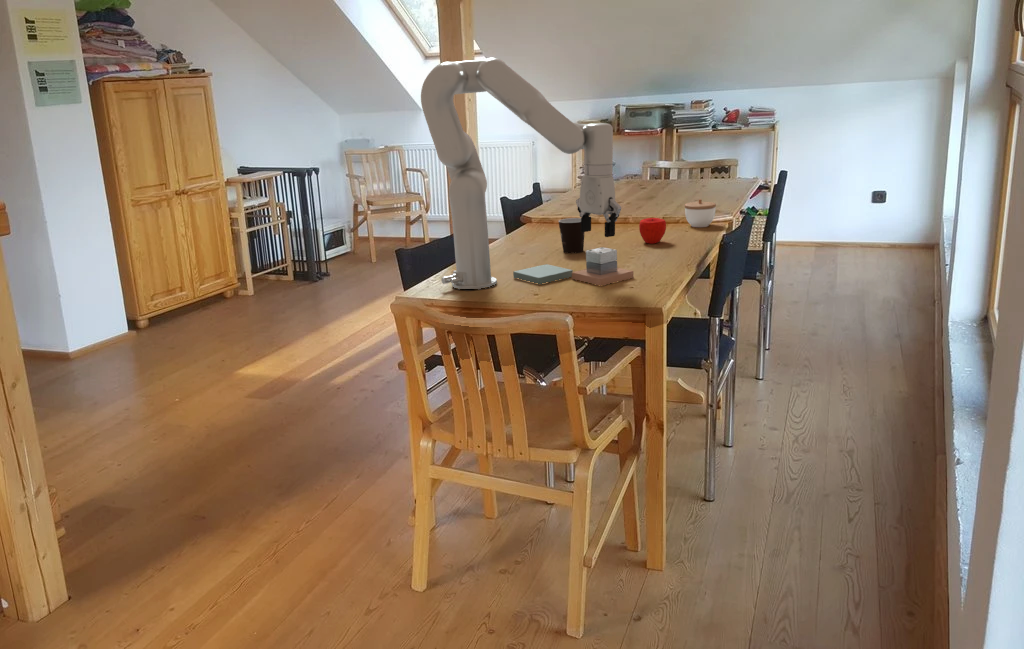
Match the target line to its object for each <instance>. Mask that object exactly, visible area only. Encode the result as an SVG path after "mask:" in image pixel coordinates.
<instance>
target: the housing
mask: <svg viewBox="0 0 1024 649" xmlns="http://www.w3.org/2000/svg"><path fill="white" fill-rule="evenodd" d="M617 250H618V249H615V248H614V249H613V248H608V247H603V246H601V247H598V248H592V249H587V250H585V262H586V263H585V264H586V268H585V269H587V272H589V273H593V274H598V275H604V274H608V273H613V272H617V268H618V251H617Z"/></svg>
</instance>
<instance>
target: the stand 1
mask: <svg viewBox="0 0 1024 649" xmlns="http://www.w3.org/2000/svg"><path fill="white" fill-rule="evenodd" d="M512 272H513V273H512V274H513V279H514V278H519V279H522V280H526V281H530V282H534V283H538V284H541V285H543V284H542V283H546V282H550V283H552V282H551V281H554V282H556V281H555V280H558V281H560V280H559V279H563V280H565V279H564V278H567V279H570V278H569V277H571V278H572V272H574V270H573V269H570V268H566V267H561V266H556V265H552V264H547V263H546V264H541V265H536V266H532V267H528V268H524V269H519V270H514V271H512ZM522 280H521V281H522ZM526 281H525V282H526ZM530 282H529V283H530ZM546 284H547V283H546Z"/></svg>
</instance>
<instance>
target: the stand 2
mask: <svg viewBox="0 0 1024 649" xmlns="http://www.w3.org/2000/svg"><path fill="white" fill-rule="evenodd" d="M630 278H632V279H634V270H631V269H627V268H620V267H617V272H613V273H608V274H604V275H598V274H593V273H589V272H587V269H586V268H585V269H581V270H575V271H573V272H572V277H571V280H572V279H575V280H574V281H577V280H580V281H579V282H581V281H584V282H583V283H585V282H588V283H587V284H589V283H592V284H591V285H593V284H596V285H595V286H597V285H600V286H599V287H602V286H601V285H604V286H606V284H608V285H611V284H610V283H612V284H614V283H613V282H616V283H618V282H617V281H620V282H623V281H622V280H624V281H627V280H626V279H628V280H630Z"/></svg>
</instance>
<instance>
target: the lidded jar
mask: <svg viewBox="0 0 1024 649" xmlns="http://www.w3.org/2000/svg"><path fill="white" fill-rule="evenodd" d="M702 200H703V199H702V198H699V199H698V201H693V202H692V201H691V202H686V203H685V204H684V214H685V215H684V216H685V218H686V221H687V223H688V224H690V226H691V227H693V228H707V227H709V226H710V225H711V223H713V221H714V219H715V215H716V206H717V205H716V202H713V201H702Z"/></svg>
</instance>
